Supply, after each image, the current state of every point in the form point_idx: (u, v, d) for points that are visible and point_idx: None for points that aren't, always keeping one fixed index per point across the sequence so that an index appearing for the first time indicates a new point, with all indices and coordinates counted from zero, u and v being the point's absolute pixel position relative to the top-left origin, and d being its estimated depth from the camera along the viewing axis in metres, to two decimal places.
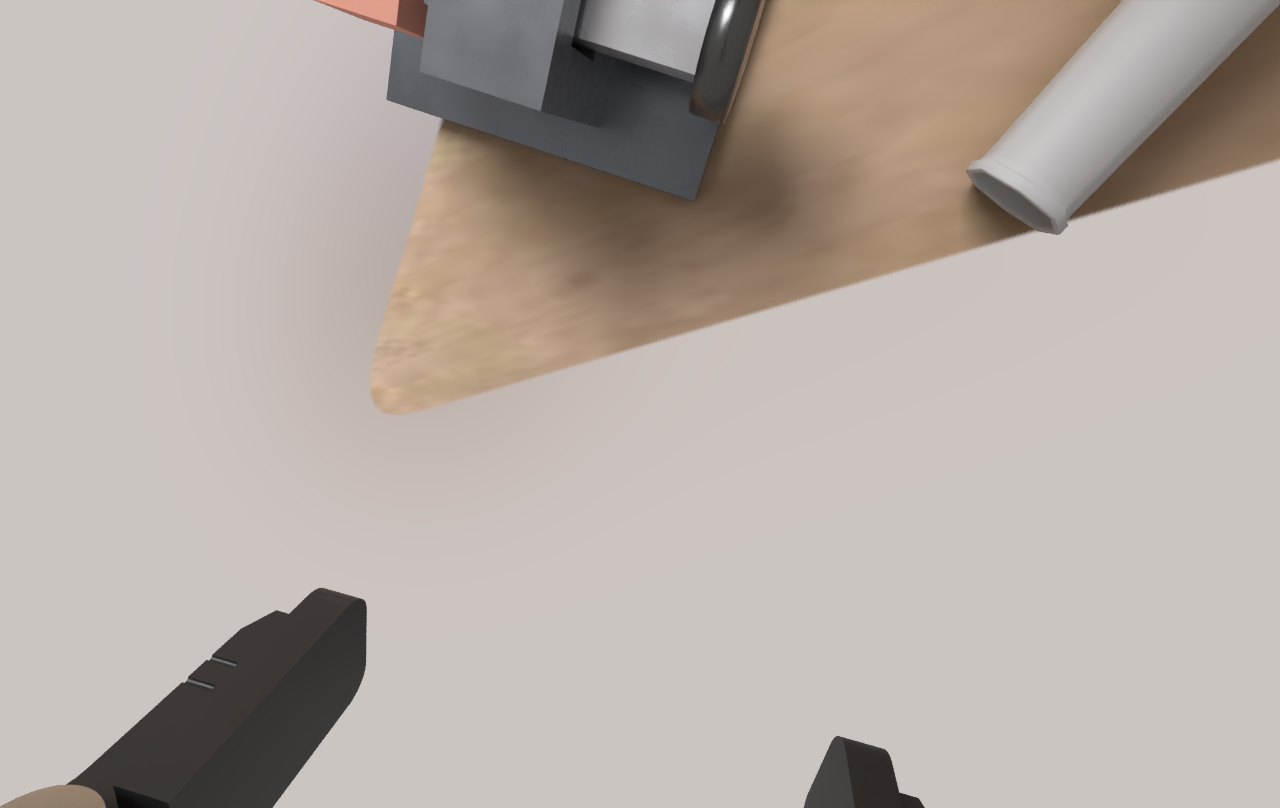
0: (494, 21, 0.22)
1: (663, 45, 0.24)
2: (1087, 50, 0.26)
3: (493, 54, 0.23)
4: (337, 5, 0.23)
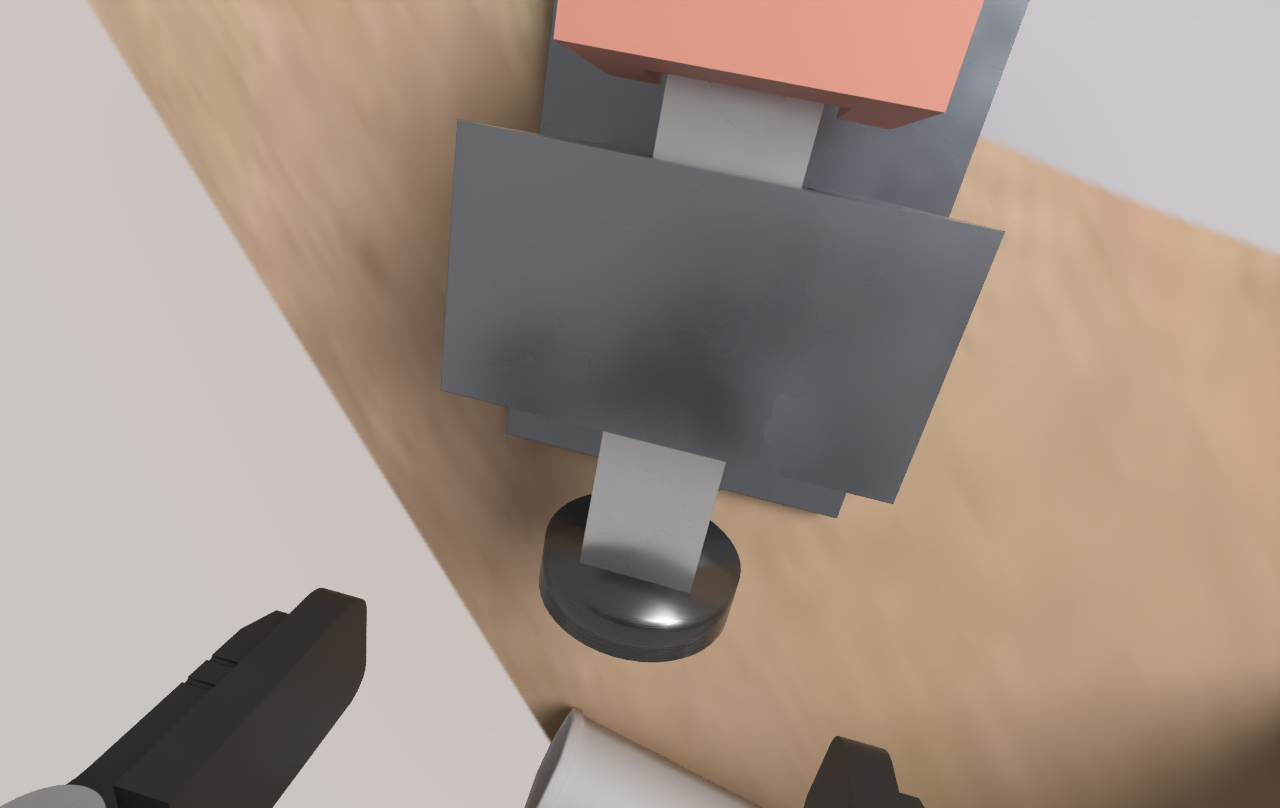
0: (573, 301, 0.11)
1: (613, 518, 0.15)
2: (684, 807, 0.27)
3: (517, 298, 0.11)
4: None
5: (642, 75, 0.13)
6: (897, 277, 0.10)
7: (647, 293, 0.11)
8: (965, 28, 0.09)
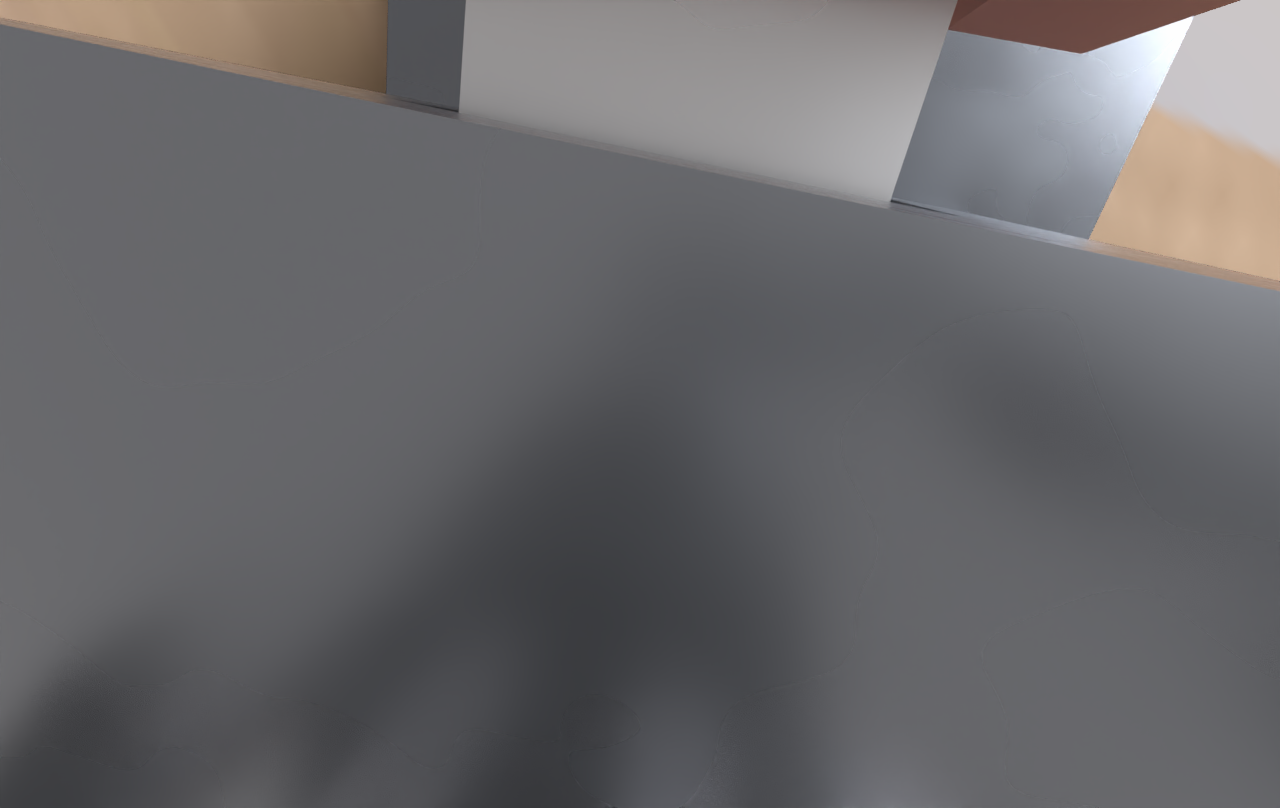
0: (108, 608, 0.03)
1: None
2: None
3: None
4: None
5: None
6: None
7: (343, 609, 0.03)
8: None
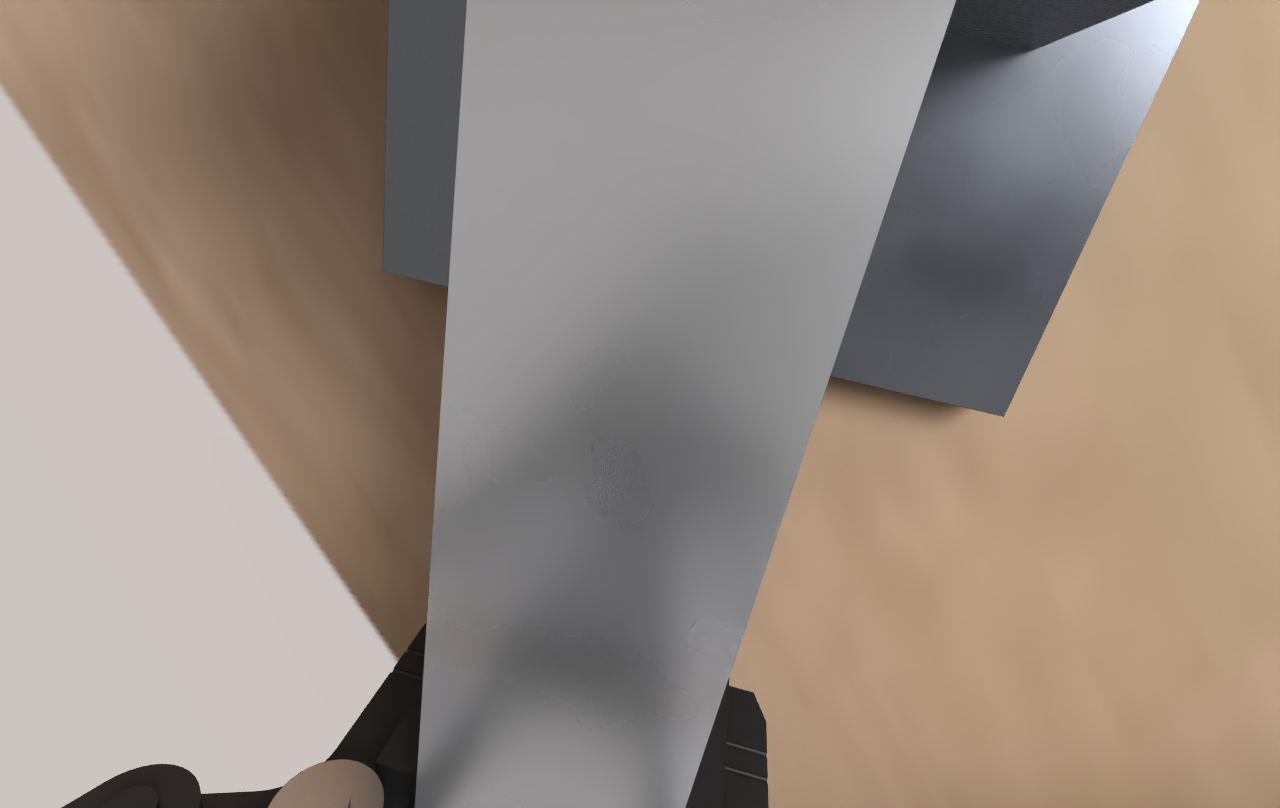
0: None
1: None
2: None
3: None
4: None
5: None
6: None
7: None
8: None
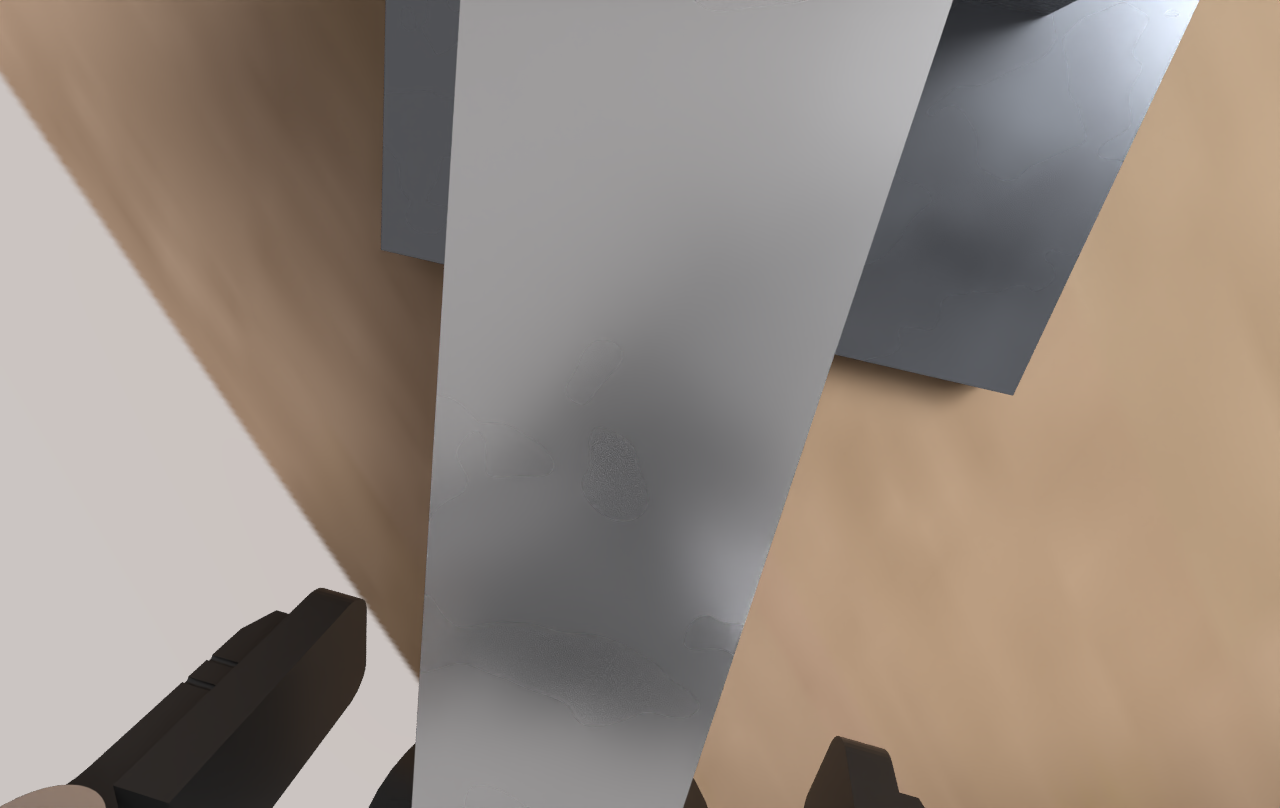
0: None
1: None
2: None
3: None
4: None
5: None
6: None
7: None
8: None
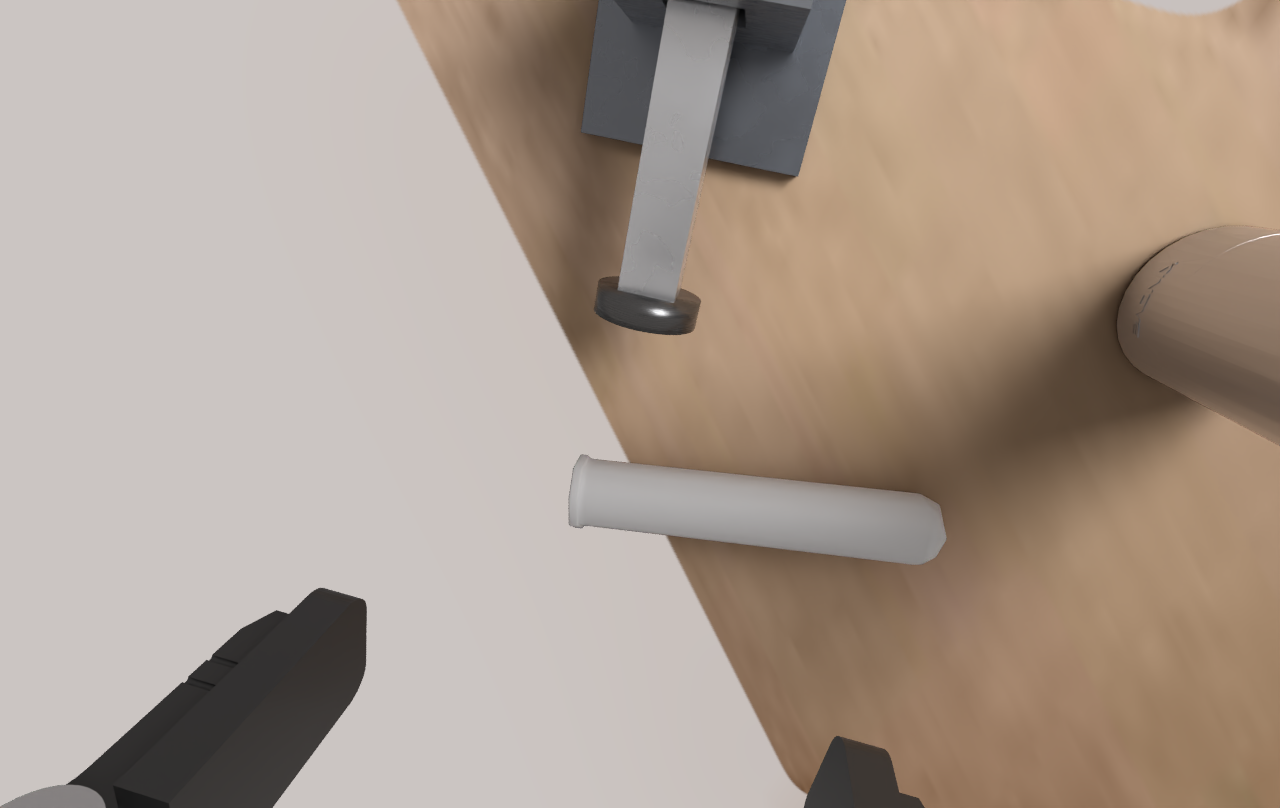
0: None
1: (635, 262, 0.31)
2: (662, 475, 0.41)
3: None
4: None
5: None
6: None
7: None
8: None
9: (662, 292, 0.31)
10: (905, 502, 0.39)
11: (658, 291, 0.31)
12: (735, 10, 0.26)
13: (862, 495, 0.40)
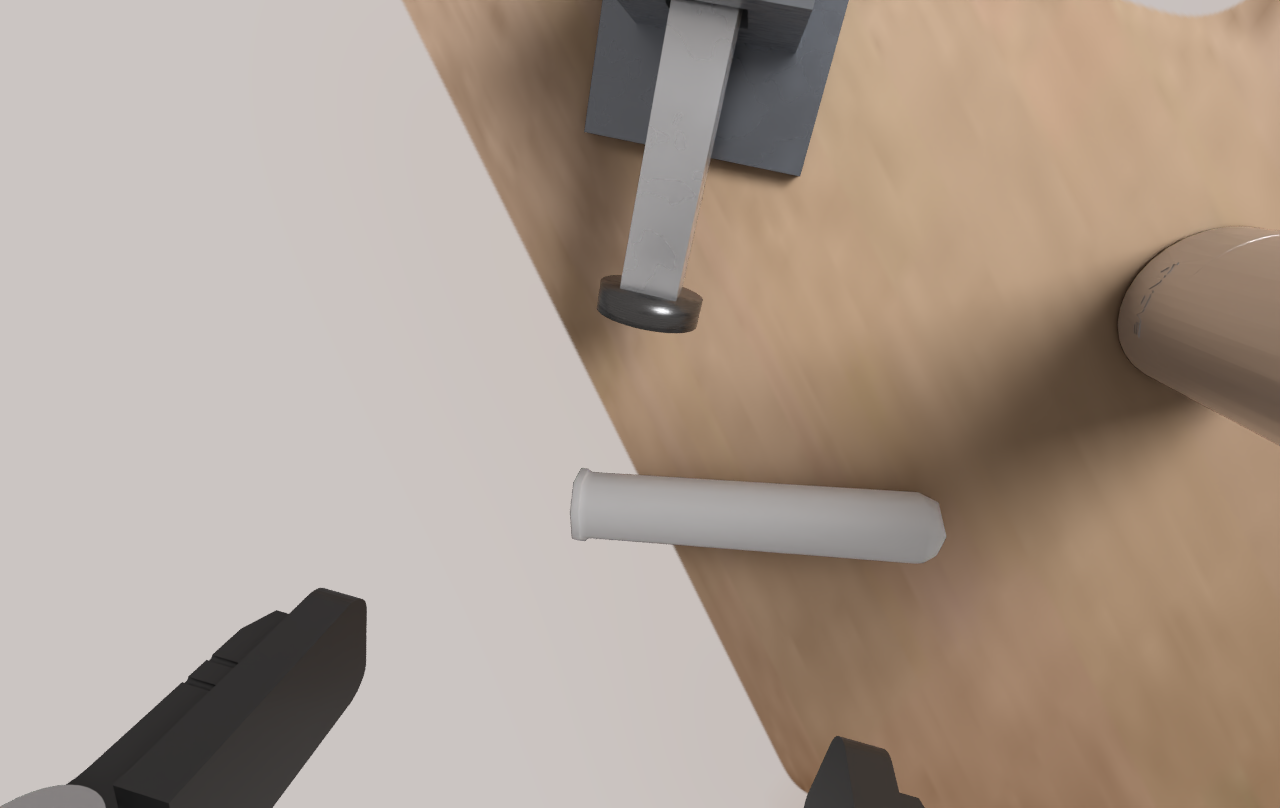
0: None
1: (637, 260, 0.31)
2: (661, 485, 0.42)
3: None
4: None
5: None
6: None
7: None
8: None
9: (664, 290, 0.31)
10: (903, 502, 0.39)
11: (660, 289, 0.31)
12: (737, 11, 0.26)
13: (860, 496, 0.40)
